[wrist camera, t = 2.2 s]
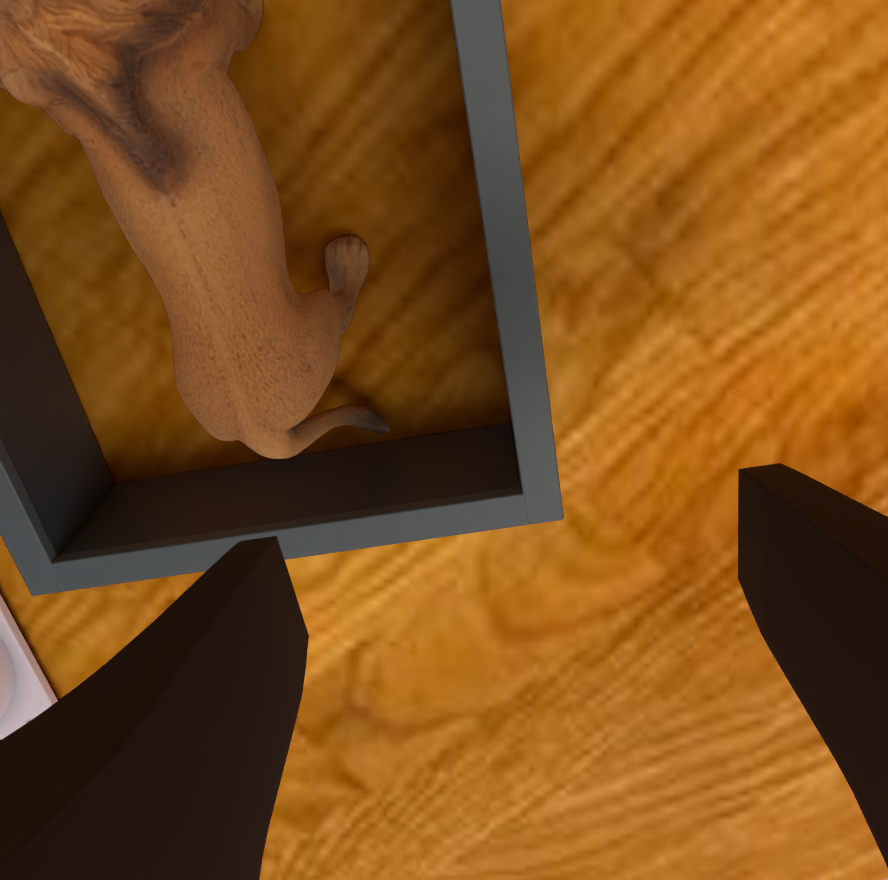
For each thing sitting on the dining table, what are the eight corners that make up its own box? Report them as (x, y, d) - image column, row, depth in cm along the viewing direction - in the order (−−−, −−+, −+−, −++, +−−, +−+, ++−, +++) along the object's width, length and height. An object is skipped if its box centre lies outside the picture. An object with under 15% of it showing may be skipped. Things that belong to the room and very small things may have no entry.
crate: (99, 510, 23) (31, 596, 19) (-224, -221, 15) (-440, -313, 12) (544, 442, 22) (564, 520, 18) (438, -381, 14) (434, -541, 11)
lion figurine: (-38, -74, 17) (-499, -205, 8) (161, -216, 15) (-152, -522, 7) (313, 457, 22) (237, 680, 14) (476, 382, 21) (493, 576, 13)
